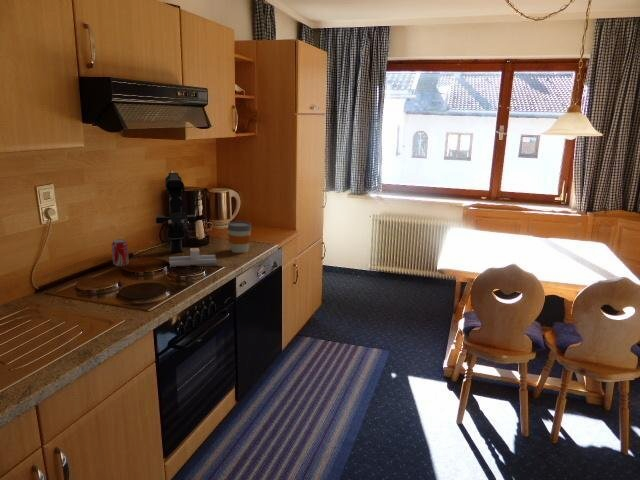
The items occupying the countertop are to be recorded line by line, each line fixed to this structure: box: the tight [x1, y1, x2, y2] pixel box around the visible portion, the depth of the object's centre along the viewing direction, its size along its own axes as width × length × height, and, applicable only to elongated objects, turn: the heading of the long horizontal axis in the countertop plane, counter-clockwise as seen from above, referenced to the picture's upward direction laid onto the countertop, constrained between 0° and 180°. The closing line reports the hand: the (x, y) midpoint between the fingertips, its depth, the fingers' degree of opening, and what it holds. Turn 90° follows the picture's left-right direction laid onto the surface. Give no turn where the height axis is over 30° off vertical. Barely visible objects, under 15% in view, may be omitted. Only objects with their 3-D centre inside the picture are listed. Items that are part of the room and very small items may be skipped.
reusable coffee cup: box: [227, 221, 252, 254], centre depth 255 cm, size 13×13×15 cm
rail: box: [168, 254, 218, 269], centre depth 230 cm, size 10×22×3 cm, turn 108°
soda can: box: [111, 238, 129, 267], centre depth 223 cm, size 7×7×12 cm
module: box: [189, 247, 201, 260], centre depth 230 cm, size 5×4×6 cm
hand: (176, 235), depth 234 cm, fingers closed
